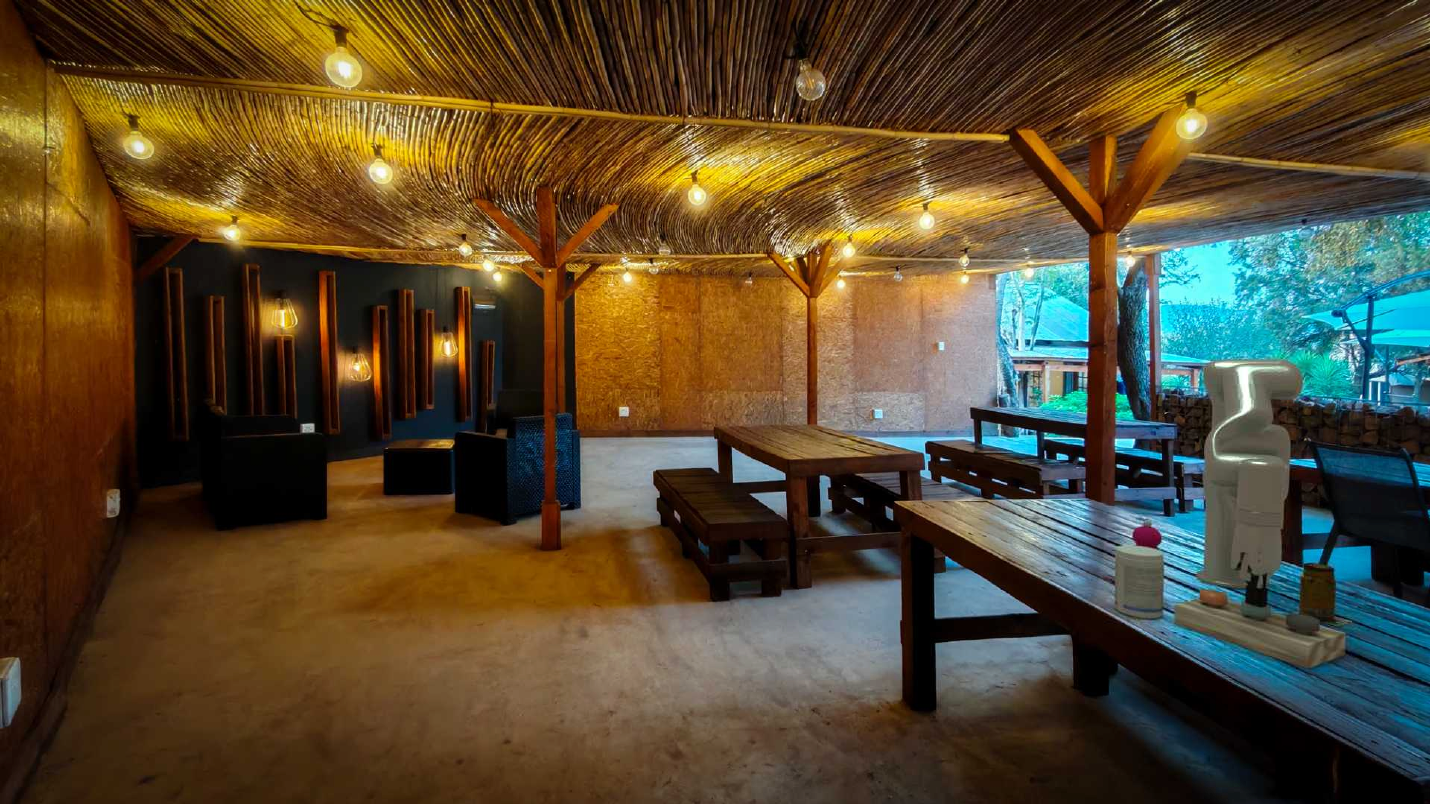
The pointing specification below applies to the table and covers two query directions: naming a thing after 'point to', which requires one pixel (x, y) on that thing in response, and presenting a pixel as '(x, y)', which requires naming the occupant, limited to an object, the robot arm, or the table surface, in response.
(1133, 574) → the supplement tub
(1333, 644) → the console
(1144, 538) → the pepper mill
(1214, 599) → the button vermilion
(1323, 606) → the condiment
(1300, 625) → the button charcoal
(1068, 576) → the table surface
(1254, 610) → the button teal
